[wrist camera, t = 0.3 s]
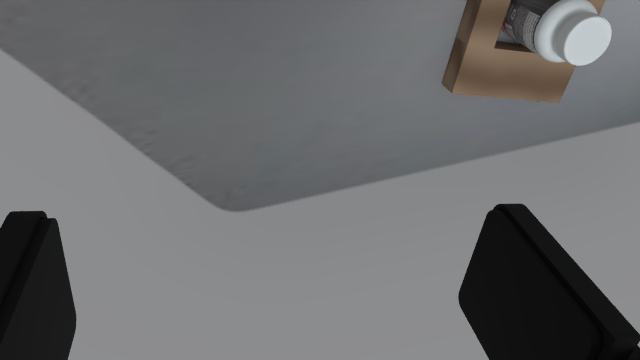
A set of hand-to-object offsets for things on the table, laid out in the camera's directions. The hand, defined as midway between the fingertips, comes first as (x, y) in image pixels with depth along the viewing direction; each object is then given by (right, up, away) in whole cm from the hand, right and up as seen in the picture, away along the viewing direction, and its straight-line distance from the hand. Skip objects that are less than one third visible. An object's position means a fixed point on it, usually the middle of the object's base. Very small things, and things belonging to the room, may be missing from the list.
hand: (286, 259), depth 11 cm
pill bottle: (+20, +18, +37) cm, 45 cm away
